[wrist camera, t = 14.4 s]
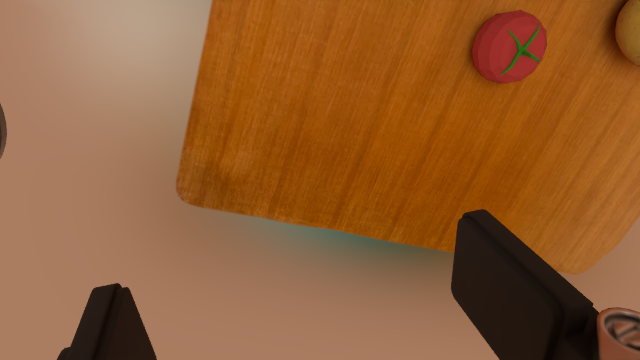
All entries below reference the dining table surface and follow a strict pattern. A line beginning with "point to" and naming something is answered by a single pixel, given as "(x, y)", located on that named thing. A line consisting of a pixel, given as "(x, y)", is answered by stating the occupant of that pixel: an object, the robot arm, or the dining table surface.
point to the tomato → (509, 46)
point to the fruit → (629, 31)
